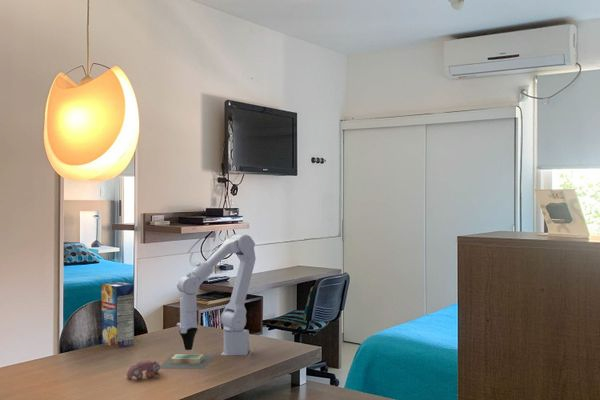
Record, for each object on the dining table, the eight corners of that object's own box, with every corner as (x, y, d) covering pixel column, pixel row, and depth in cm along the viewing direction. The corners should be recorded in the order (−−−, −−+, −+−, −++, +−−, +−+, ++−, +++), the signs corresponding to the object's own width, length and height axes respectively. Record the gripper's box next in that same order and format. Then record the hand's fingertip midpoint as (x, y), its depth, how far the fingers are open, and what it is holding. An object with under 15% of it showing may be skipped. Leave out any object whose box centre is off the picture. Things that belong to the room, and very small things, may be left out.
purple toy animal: (129, 385, 181) (131, 368, 178) (125, 376, 184) (128, 358, 182) (159, 380, 186) (162, 363, 184) (155, 371, 190) (158, 354, 187)
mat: (215, 356, 209) (215, 354, 209) (204, 370, 191) (204, 368, 191) (171, 356, 210) (171, 354, 210) (156, 370, 192) (156, 368, 192)
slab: (203, 354, 204) (199, 358, 198) (203, 358, 204) (199, 363, 198) (175, 354, 204) (170, 358, 198) (175, 358, 204) (170, 363, 198)
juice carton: (101, 343, 231) (101, 283, 231) (118, 340, 237) (118, 281, 237) (116, 348, 223) (116, 286, 223) (134, 344, 228) (133, 284, 229)
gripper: (182, 307, 211) (182, 344, 210) (171, 314, 196) (171, 354, 196) (201, 307, 210) (201, 344, 210) (191, 314, 196) (192, 354, 196)
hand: (188, 349), depth 203 cm, fingers closed
